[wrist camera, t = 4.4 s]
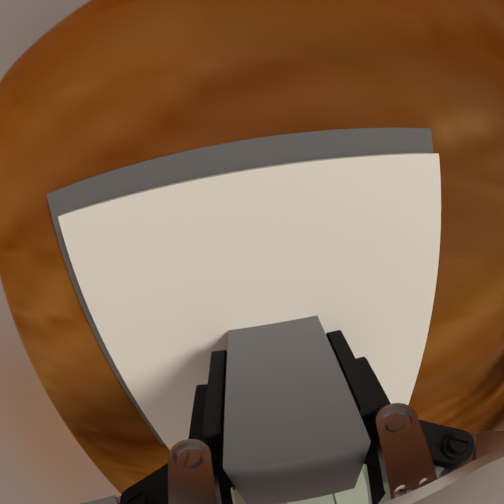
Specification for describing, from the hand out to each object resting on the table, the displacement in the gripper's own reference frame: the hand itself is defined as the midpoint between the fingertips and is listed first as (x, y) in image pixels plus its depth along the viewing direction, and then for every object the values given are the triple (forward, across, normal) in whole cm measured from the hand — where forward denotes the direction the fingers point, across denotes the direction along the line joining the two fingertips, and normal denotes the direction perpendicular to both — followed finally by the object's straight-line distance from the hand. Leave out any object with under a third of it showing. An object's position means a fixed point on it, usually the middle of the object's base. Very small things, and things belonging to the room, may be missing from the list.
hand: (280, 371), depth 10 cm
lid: (+2, 0, 0) cm, 2 cm away
